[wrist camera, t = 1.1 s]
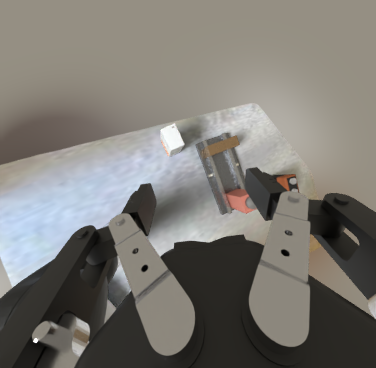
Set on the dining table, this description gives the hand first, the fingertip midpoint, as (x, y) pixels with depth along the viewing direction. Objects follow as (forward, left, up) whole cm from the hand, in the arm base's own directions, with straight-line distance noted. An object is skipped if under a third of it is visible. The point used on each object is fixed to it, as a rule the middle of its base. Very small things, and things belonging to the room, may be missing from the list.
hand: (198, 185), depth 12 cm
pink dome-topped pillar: (-3, -22, -35) cm, 42 cm away
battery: (+4, -38, -37) cm, 53 cm away
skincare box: (+11, +2, -37) cm, 39 cm away
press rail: (+5, -18, -37) cm, 41 cm away
